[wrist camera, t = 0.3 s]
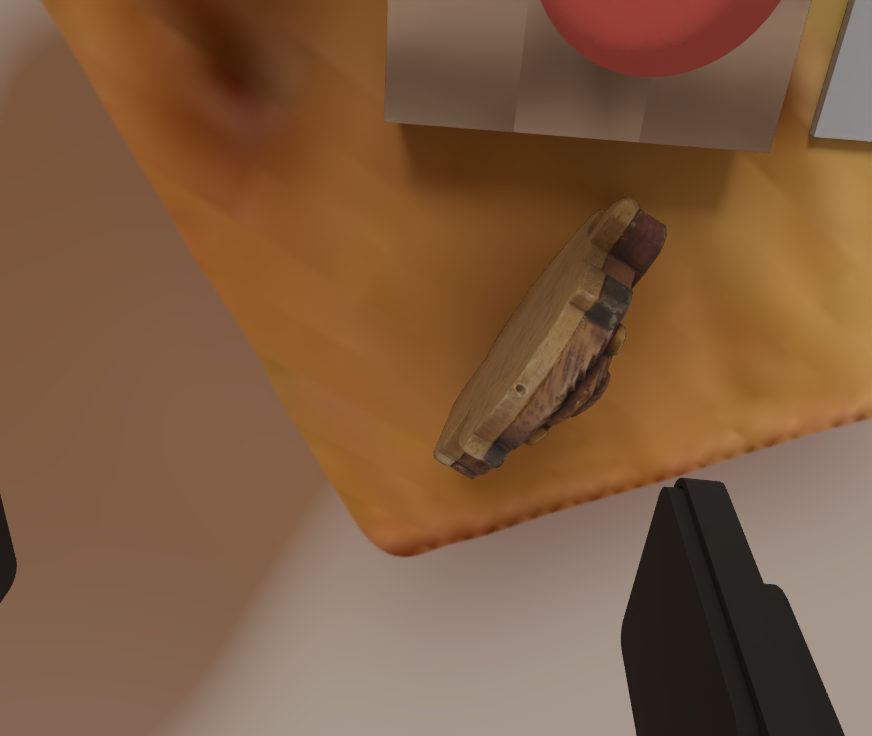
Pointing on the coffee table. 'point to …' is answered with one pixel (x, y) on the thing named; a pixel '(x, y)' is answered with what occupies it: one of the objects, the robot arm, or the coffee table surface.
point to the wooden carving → (554, 342)
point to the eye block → (577, 79)
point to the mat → (848, 80)
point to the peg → (656, 31)
